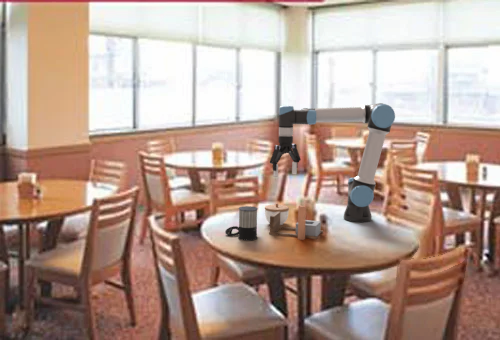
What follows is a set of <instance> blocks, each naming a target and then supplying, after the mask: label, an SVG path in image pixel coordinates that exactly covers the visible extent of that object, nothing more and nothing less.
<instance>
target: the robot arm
mask: <svg viewBox="0 0 500 340" xmlns="http://www.w3.org/2000/svg"><path fill="white" fill-rule="evenodd" d="M394 110H395V109H393V107H392V106H391V105H389V104H386V103H381V102H379V103H374V104H367V105H366V104H364V105H362V106H359V107H354V106H353V107H352V106H351V107H321V108H320V107H319V108H318V107H317V108H308V107H307V108H306V107H304V108H301V109H295V108H294V106H293V105H281V106H279V108H278V143H279V145H277V144H274V149H273V152H272V155H271V158H270V160H269V163H270V164H271V165H272V171H273V177H274V178H279V164H278V163H279V161H280V160H281V158H282V156H283V155H284V154H288V155H289V156H290V158H291V160H292V162H291V163H292V165H291V166H292V167H291V175H295V176H297V173H298V172H297V171H298V163H300V161H301V160H302V159H301V156H300V153H299V151H298V148H297V143H294V136H293V135H294V125H316V124H317V123H337V122H338V123H346V122H354V123H355V122H356V123H357V122H362V123H363V124H367V129H368V135H367V139H366V142H365V147H364V150H363V153H362V158H361V161H360V165H359V169H358V172H357V173H358V174H357V176H354V177H350V178H348V182H347V205H346V207H345V210H344V213H343V220H345V221H348V222H353V223H356V222H357V223H366V222H367V223H368V222H371V221H372V219H373V218H372V217H373V216H372V211H371V209H370V205H371V203H372V202H373V200H374V197H375V196H374V195H375V194H374V192H375V189H376V181H375V176H376V173H377V170H378V165H379V162H380V159H381V155H382V154H381V153H382V150H383V146H384V144H385V140H386V136H387V135H388V134H390V132H391V128H392V125H393V124H394V122H395V119H396V114H395V111H394Z"/></svg>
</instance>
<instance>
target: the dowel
mask: <svg viewBox="0 0 500 340" xmlns="http://www.w3.org/2000/svg"><path fill="white" fill-rule="evenodd" d="M297 215H298V216H297V223H298V237H297V240H300V241H304V240H306V238H305V224H306V220H307V219H306V218H307V217H306V215H307V206H305V205H299V206H298V214H297Z"/></svg>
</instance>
